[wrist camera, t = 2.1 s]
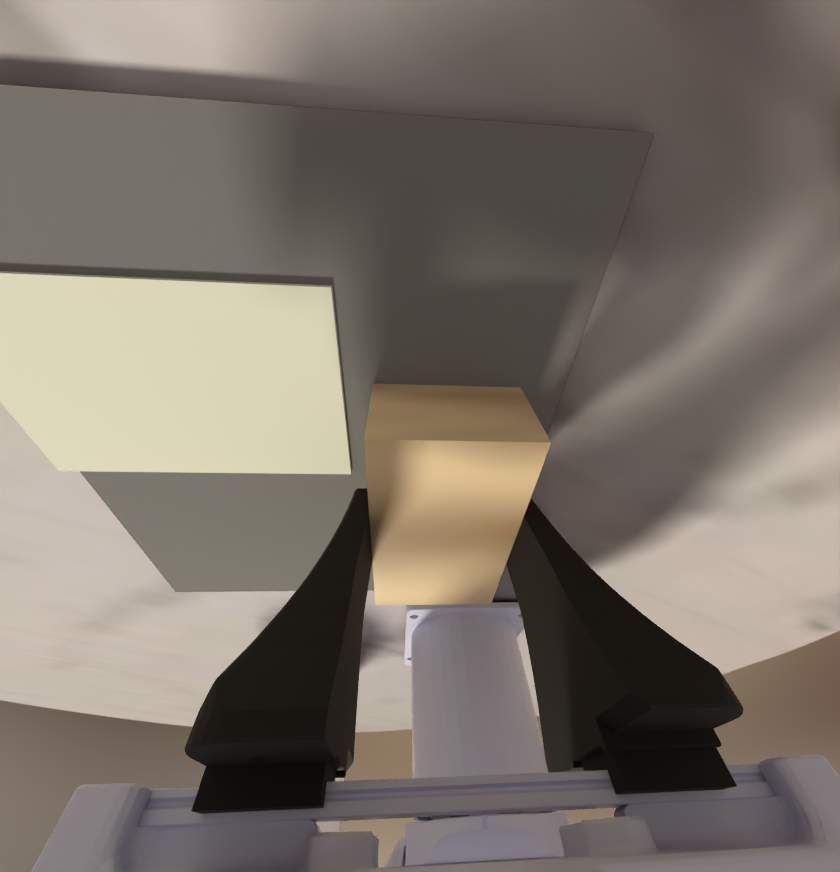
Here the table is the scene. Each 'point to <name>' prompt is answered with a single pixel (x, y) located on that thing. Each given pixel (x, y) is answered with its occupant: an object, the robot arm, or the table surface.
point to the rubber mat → (277, 298)
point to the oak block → (447, 488)
